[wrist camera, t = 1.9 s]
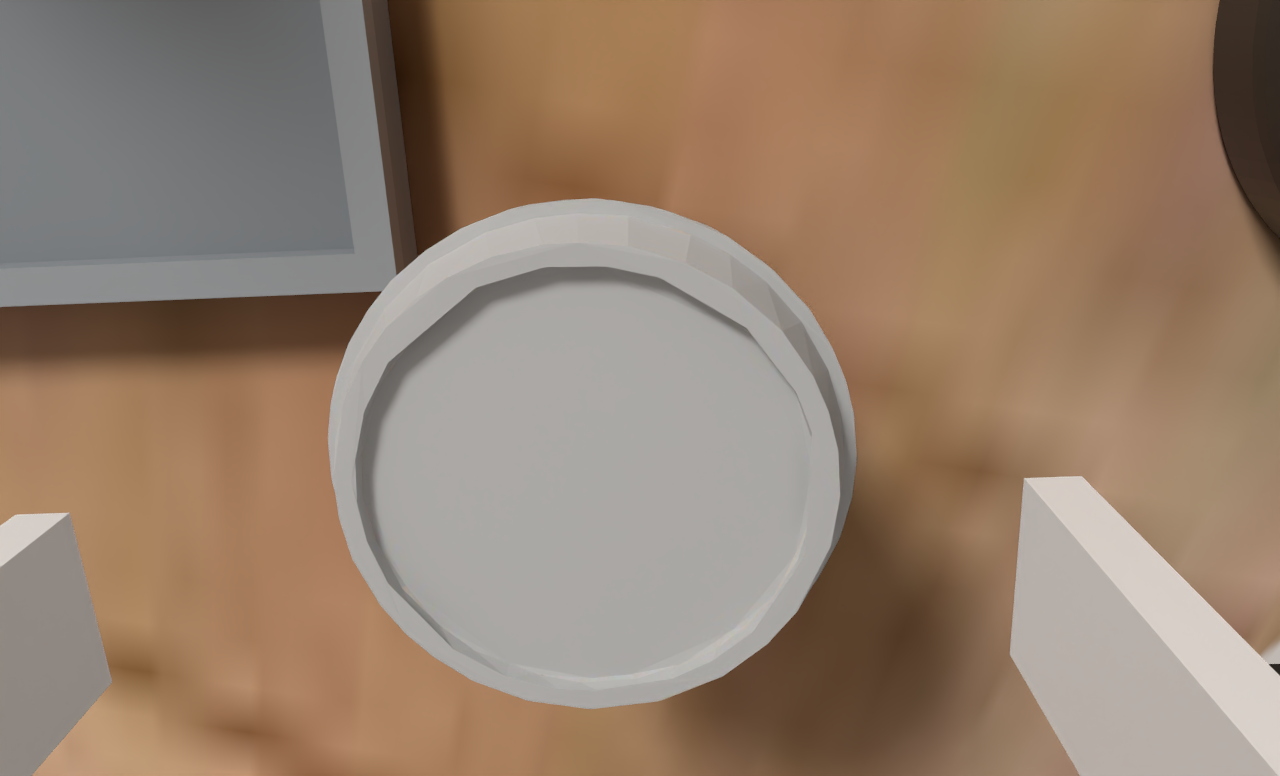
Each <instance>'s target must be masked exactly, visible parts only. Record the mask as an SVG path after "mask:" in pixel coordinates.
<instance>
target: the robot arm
mask: <svg viewBox="0 0 1280 776" xmlns="http://www.w3.org/2000/svg"><path fill="white" fill-rule="evenodd" d="M1213 74H1214V91H1215V100H1216V107H1217V115H1218V119H1219V124H1220V129H1221V133H1222V137H1223V140H1224V144H1225V147H1226V150H1227V153H1228V157H1229V159H1230V161H1231V164H1232V166H1233V169H1234V171H1235V174H1236V176H1237V178H1238V180H1239V182H1240V184H1241V186H1242V188H1243V190H1244V192H1245V194H1246V195H1247V197H1248V198H1249V200H1250V202H1251V203H1252V205H1253V206H1254V208H1255V209H1256V211H1257V212H1258V213H1259V215H1260V216H1261V217H1262V219H1263V220H1264V221H1265V223H1266V224H1267V225H1268V226H1269V227H1270V228H1271V230H1272V231H1273V232H1274V233H1275V234H1276V235H1277V236H1278V237H1279V238H1280V0H1220V2H1219V8H1218V14H1217V21H1216V29H1215V40H1214V62H1213ZM1010 656H1011V657H1012V659H1013V661H1014V663H1015V664H1016V666H1017V668H1018V669H1019V671H1020V673H1021V675H1022V676H1023V678H1024V680H1025V682H1026V683H1027V685H1028V687H1029V688H1030V690H1031V692H1032V694H1033V695H1034V697H1035V699H1036V700H1037V702H1038V704H1039V706H1040V707H1041V709H1042V711H1043V712H1044V714H1045V716H1046V718H1047V719H1048V721H1049V723H1050V724H1051V726H1052V728H1053V730H1054V731H1055V733H1056V735H1057V737H1058V738H1059V740H1060V742H1061V743H1062V745H1063V747H1064V749H1065V750H1066V752H1067V754H1068V755H1069V757H1070V759H1071V761H1072V762H1073V764H1074V766H1075V767H1076V769H1077V771H1078V773H1079V774H1080V776H1280V664H1268V663H1267V662H1266V661H1265V660H1264V659H1263V658H1262V657H1261V656H1260V655H1259V654H1258V653H1257V652H1256V651H1255V650H1254V649H1253V648H1252V647H1251V646H1250V645H1249V644H1248V643H1247V642H1246V641H1245V640H1244V639H1243V638H1242V637H1241V636H1240V635H1239V634H1238V633H1237V632H1236V631H1235V630H1234V629H1233V628H1232V627H1231V626H1230V625H1229V624H1228V623H1227V622H1226V621H1225V620H1224V619H1223V618H1222V617H1221V616H1220V615H1219V614H1218V613H1217V612H1216V611H1215V610H1214V609H1213V608H1212V607H1211V606H1210V605H1209V604H1208V603H1207V602H1206V601H1205V600H1204V599H1203V598H1202V597H1201V596H1200V595H1199V594H1198V593H1197V592H1196V591H1195V590H1194V589H1193V588H1192V587H1191V586H1190V585H1189V584H1188V583H1187V582H1186V581H1185V580H1184V579H1183V578H1182V577H1181V576H1180V575H1179V574H1178V573H1177V572H1176V571H1175V570H1174V569H1173V568H1172V567H1171V566H1170V565H1169V564H1168V563H1167V562H1166V561H1165V560H1164V559H1163V558H1162V557H1161V556H1160V555H1159V554H1158V553H1157V552H1156V551H1155V550H1154V549H1153V548H1152V547H1151V546H1150V545H1149V544H1148V543H1147V542H1146V541H1145V540H1144V539H1143V538H1142V537H1141V536H1140V534H1139V533H1138V532H1137V531H1136V530H1135V529H1134V528H1133V527H1132V526H1131V525H1130V524H1129V523H1128V522H1127V521H1126V520H1125V519H1124V518H1123V517H1122V516H1121V515H1120V514H1119V513H1118V512H1117V511H1116V510H1115V509H1114V508H1113V507H1112V506H1111V505H1110V504H1109V503H1108V502H1107V501H1106V500H1105V499H1104V498H1103V497H1102V496H1101V495H1100V494H1099V493H1098V492H1097V491H1096V490H1095V489H1094V488H1093V487H1092V486H1091V485H1090V484H1089V483H1088V482H1087V481H1086V480H1085V479H1084V478H1083V477H1082V476H1072V477H1045V478H1024V485H1023V498H1022V510H1021V522H1020V535H1019V547H1018V559H1017V572H1016V584H1015V596H1014V609H1013V621H1012V633H1011V646H1010ZM111 683H112V680H111V676H110V672H109V668H108V664H107V660H106V656H105V652H104V648H103V644H102V640H101V636H100V632H99V628H98V624H97V620H96V616H95V612H94V608H93V604H92V600H91V596H90V592H89V588H88V584H87V580H86V576H85V572H84V568H83V564H82V560H81V556H80V552H79V548H78V544H77V540H76V536H75V532H74V529H73V525H72V521H71V517H70V513H50V514H23V515H15V516H13V517H12V518H10V519H9V520H8V521H6V522H5V523H4V524H2V525H1V526H0V776H32V774H33V773H34V772H35V771H36V770H37V769H38V767H39V766H40V765H41V764H42V763H43V762H44V761H45V759H46V758H47V757H48V756H49V755H50V754H51V752H52V751H53V750H54V749H55V748H56V747H57V745H58V744H59V743H60V742H61V741H62V740H63V739H64V737H65V736H66V735H67V734H68V733H69V732H70V730H71V729H72V728H73V727H74V726H75V725H76V723H77V722H78V721H79V720H80V719H81V718H82V716H83V715H84V714H85V713H86V712H87V711H88V710H89V708H90V707H91V706H92V705H93V704H94V703H95V701H96V700H97V699H98V698H99V697H100V696H101V694H102V693H103V692H104V691H105V690H106V689H107V688H108V686H109V685H110V684H111Z"/></svg>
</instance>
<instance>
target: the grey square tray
mask: <svg viewBox="0 0 1280 776" xmlns="http://www.w3.org/2000/svg"><path fill="white" fill-rule="evenodd" d="M417 257H418V256H417V248H416V239H415V231H414V223H413V214H412V206H411V197H410V189H409V180H408V172H407V164H406V155H405V147H404V138H403V130H402V121H401V113H400V105H399V96H398V88H397V79H396V71H395V62H394V54H393V45H392V37H391V29H390V20H389V12H388V3H387V0H0V307H10V306H35V305H59V304H84V303H108V302H133V301H157V300H182V299H206V298H231V297H255V296H280V295H304V294H329V293H353V292H378V291H383V290H384V289H385V288H386V286H387V285H388V284H389V282H390V281H391V280H392V279H393V278H394V277H396V276H397V275H398V274H399V273H400V272H401V271H402V270H404V269H405V268H406V267H407V266H408V265H409V264H410V263H412V262H413V261H414V260H415V259H416V258H417Z"/></svg>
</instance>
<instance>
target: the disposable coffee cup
mask: <svg viewBox="0 0 1280 776" xmlns="http://www.w3.org/2000/svg"><path fill="white" fill-rule="evenodd" d="M328 446H329V456H330V466H331V477H332V483H333V487H334V490H335V494H336V501H337V508H338V515H339V519H340V523H341V526H342V529H343V532H344V535H345V538H346V541H347V544H348V547H349V550H350V553H351V556H352V559H353V561H354V563H355V564H356V566H357V568H358V569H359V571H360V572H361V574H362V576H363V577H364V579H365V581H366V582H367V584H368V586H369V587H370V589H371V591H372V592H373V594H374V595H375V597H376V599H377V600H378V602H379V604H380V605H381V606H382V608H383V609H384V610H385V611H386V612H387V613H388V614H389V615H390V616H391V618H392V619H393V620H394V621H395V622H396V623H397V624H398V625H399V627H400V628H401V629H402V630H403V631H404V632H405V633H406V634H407V635H408V636H409V637H410V638H411V639H413V640H414V641H415V642H416V643H417V644H419V645H420V646H421V647H422V648H423V649H425V650H426V651H427V652H428V653H430V654H431V655H432V656H433V657H435V658H436V659H438V660H440V661H441V662H443V663H445V664H446V665H448V666H449V667H451V668H453V669H454V670H456V671H458V672H459V673H461V674H463V675H464V676H466V677H467V678H469V679H471V680H472V681H475V682H478V683H480V684H483V685H486V686H489V687H491V688H494V689H497V690H499V691H502V692H505V693H508V694H510V695H513V696H516V697H519V698H521V699H524V700H527V701H534V702H541V703H549V704H556V705H564V706H571V707H579V708H586V709H595V708H604V707H613V706H622V705H630V704H639V703H648V702H657V701H661V700H664V699H666V698H669V697H671V696H674V695H676V694H679V693H682V692H684V691H687V690H689V689H692V688H694V687H697V686H700V685H702V684H705V683H707V682H710V681H712V680H715V679H717V678H720V677H723V676H724V675H725V674H727V673H728V672H729V671H731V670H732V669H734V668H735V667H736V666H738V665H739V664H741V663H742V662H743V661H745V660H746V659H747V658H749V657H750V656H752V655H753V654H754V653H756V652H757V651H759V650H760V649H761V648H763V647H764V646H766V645H767V644H768V643H769V642H770V641H771V640H772V638H773V637H774V636H775V635H776V634H777V633H778V632H779V631H780V630H781V629H782V628H783V626H784V625H785V624H786V623H787V622H788V621H789V620H790V619H791V618H792V617H793V616H794V614H795V613H796V612H797V611H798V609H799V608H800V606H801V604H802V603H803V601H804V599H805V598H806V596H807V594H808V592H809V591H810V589H811V587H812V586H813V584H814V583H815V582H816V580H817V579H818V577H819V576H820V574H821V572H822V570H823V568H824V566H825V565H826V563H827V561H828V559H829V557H830V555H831V553H832V552H833V550H834V548H835V546H836V544H837V542H838V540H839V539H840V536H841V532H842V529H843V526H844V522H845V519H846V516H847V513H848V509H849V506H850V503H851V499H852V494H853V486H854V478H855V469H856V461H857V454H856V439H855V424H854V413H853V408H852V404H851V400H850V395H849V391H848V387H847V383H846V380H845V377H844V375H843V373H842V370H841V368H840V365H839V363H838V360H837V358H836V355H835V353H834V350H833V348H832V347H831V345H830V343H829V341H828V340H827V338H826V336H825V335H824V333H823V331H822V330H821V328H820V326H819V324H818V323H817V321H816V319H815V318H814V316H813V314H812V313H811V311H810V309H809V308H808V307H807V306H806V305H805V304H804V303H803V301H802V300H801V299H800V298H799V297H798V296H797V295H796V294H795V293H794V292H793V291H792V290H791V289H790V288H789V286H788V285H787V284H786V283H785V282H784V281H783V280H782V279H781V278H780V277H779V276H778V275H777V274H776V272H775V271H774V270H773V269H771V268H770V267H769V266H768V265H767V264H766V263H764V262H763V261H761V260H760V259H759V258H757V257H756V256H754V255H753V254H752V253H750V252H749V251H747V250H746V249H745V248H743V247H742V246H740V245H739V244H738V243H736V242H735V241H733V240H732V239H730V238H729V237H728V236H726V235H724V234H722V233H720V232H719V231H717V230H715V229H713V228H711V227H709V226H707V225H705V224H702V223H699V222H696V221H694V220H691V219H688V218H686V217H683V216H680V215H677V214H675V213H672V212H669V211H666V210H662V209H659V208H655V207H652V206H646V205H640V204H634V203H627V202H621V201H614V200H605V199H597V198H592V199H574V200H561V201H553V202H545V203H538V204H530V205H525V206H521V207H516V208H512V209H509V210H506V211H504V212H501V213H499V214H496V215H493V216H491V217H488V218H486V219H483V220H480V221H478V222H475V223H473V224H470V225H468V226H466V227H463V228H461V229H459V230H458V231H456V232H454V233H453V234H451V235H449V236H448V237H446V238H445V239H443V240H441V241H440V242H438V243H437V244H435V245H433V246H432V247H430V248H429V249H427V250H425V251H424V252H423V253H422V254H421V255H420V256H419V257H417V258H416V259H415V260H414V261H413V262H412V263H410V264H409V265H408V266H407V267H406V268H405V269H404V270H402V271H401V272H400V273H399V274H398V275H397V276H396V277H394V278H393V279H392V280H391V281H390V282H389V284H388V285H387V286H386V288H385V289H384V290H383V291H382V293H381V294H380V295H379V296H378V298H377V299H376V300H375V301H374V303H373V304H372V305H371V307H370V308H369V309H368V311H367V312H366V314H365V316H364V318H363V319H362V321H361V323H360V324H359V326H358V328H357V330H356V331H355V333H354V335H353V337H352V338H351V340H350V342H349V344H348V346H347V349H346V352H345V355H344V358H343V361H342V363H341V366H340V369H339V372H338V375H337V378H336V382H335V386H334V391H333V395H332V400H331V408H330V419H329V430H328Z"/></svg>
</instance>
